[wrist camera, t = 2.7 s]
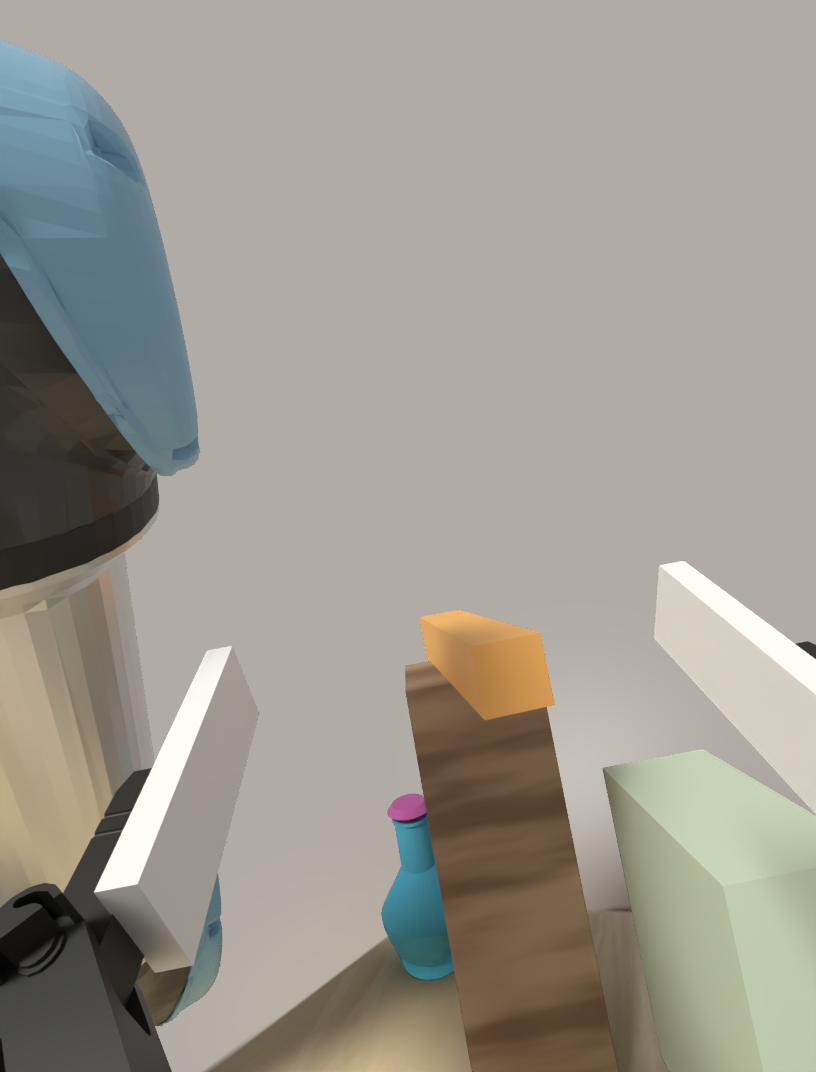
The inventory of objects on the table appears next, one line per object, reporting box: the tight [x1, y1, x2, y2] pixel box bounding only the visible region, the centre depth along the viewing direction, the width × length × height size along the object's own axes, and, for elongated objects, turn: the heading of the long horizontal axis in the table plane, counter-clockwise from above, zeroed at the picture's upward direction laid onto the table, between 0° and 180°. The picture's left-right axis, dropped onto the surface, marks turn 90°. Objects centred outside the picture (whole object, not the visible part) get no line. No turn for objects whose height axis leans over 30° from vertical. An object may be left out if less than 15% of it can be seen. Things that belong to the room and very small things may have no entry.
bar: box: [420, 610, 554, 720], centre depth 37 cm, size 22×4×4 cm, turn 6°
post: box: [405, 661, 618, 1072], centre depth 39 cm, size 10×10×30 cm
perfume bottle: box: [382, 794, 454, 980], centre depth 49 cm, size 9×9×15 cm
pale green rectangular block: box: [603, 749, 816, 1072], centre depth 29 cm, size 14×8×21 cm, turn 0°
